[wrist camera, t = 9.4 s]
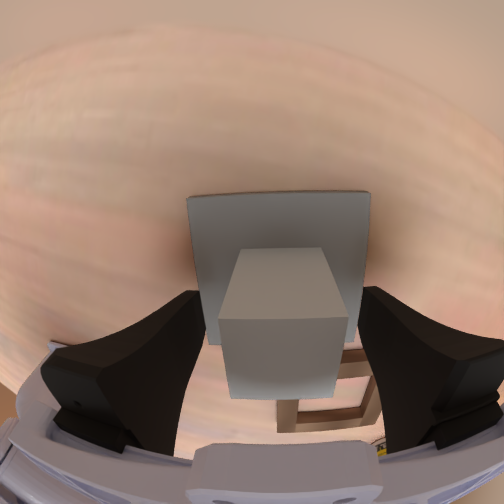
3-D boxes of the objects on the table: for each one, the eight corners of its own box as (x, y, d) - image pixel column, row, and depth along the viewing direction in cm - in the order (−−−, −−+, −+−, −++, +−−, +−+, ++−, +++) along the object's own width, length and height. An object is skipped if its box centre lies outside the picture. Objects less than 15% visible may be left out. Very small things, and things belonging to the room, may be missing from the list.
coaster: (210, 338, 17) (209, 344, 16) (190, 196, 14) (186, 198, 13) (351, 336, 16) (353, 341, 15) (366, 191, 13) (370, 193, 12)
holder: (277, 421, 20) (277, 432, 19) (277, 353, 17) (277, 366, 16) (372, 413, 19) (374, 424, 18) (398, 344, 16) (404, 355, 15)
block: (245, 315, 15) (230, 398, 10) (240, 248, 14) (217, 318, 8) (316, 314, 15) (332, 397, 9) (320, 247, 13) (348, 316, 8)
